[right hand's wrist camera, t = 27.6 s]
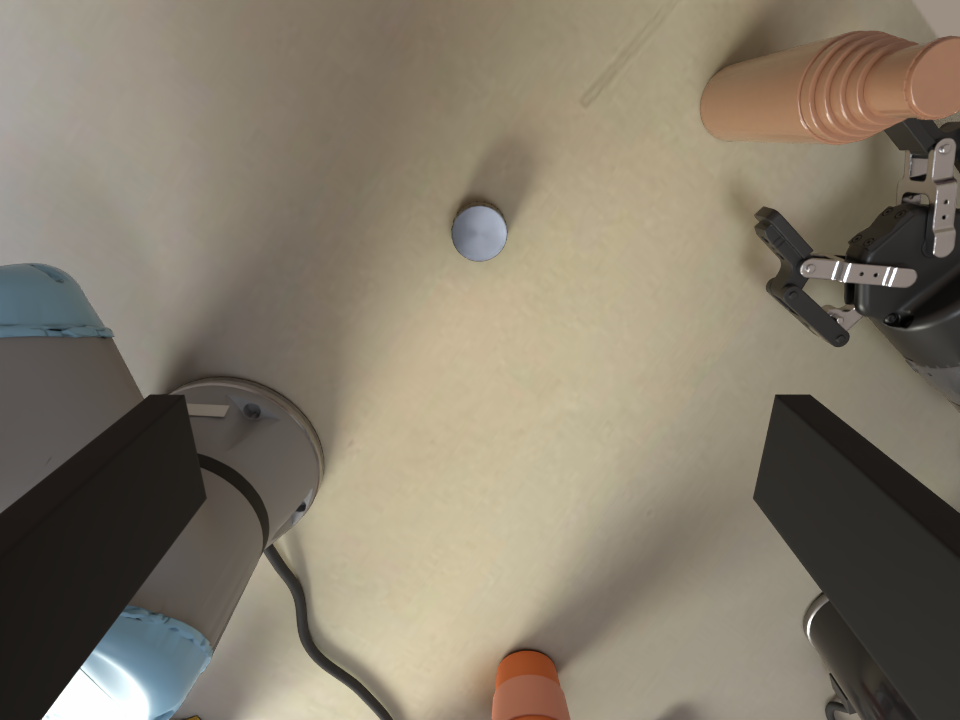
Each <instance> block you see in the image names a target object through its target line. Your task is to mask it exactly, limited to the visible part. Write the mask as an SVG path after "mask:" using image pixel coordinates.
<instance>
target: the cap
mask: <svg viewBox="0 0 960 720" xmlns="http://www.w3.org/2000/svg"><path fill="white" fill-rule="evenodd" d="M451 230H452V240H453V243H454V246H455V248H456V249H457V251H458V252H459V253H460V254H461V255H462V256H464V257H465V258H467V259H469V260H472V261H486V260H489V259H492V258H494V257H495V256H496V255H498V254H499V253H500V251H501V250H502V249H503V247H504V245H505V243H506V240H507V233H508V231H507V228H506V221H504V217H503V214H501V213H500V211H499V210H498V208H495V207H494V206H492V204H491V205H490V204H488V203H485V202H477V201H476V202H474V203H471V204H470V203H469V204H468V205H466V206H465V207H462V209H461V210H460V211H459V212H457V216H456V218H454V221H453V226H452V229H451Z"/></svg>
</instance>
